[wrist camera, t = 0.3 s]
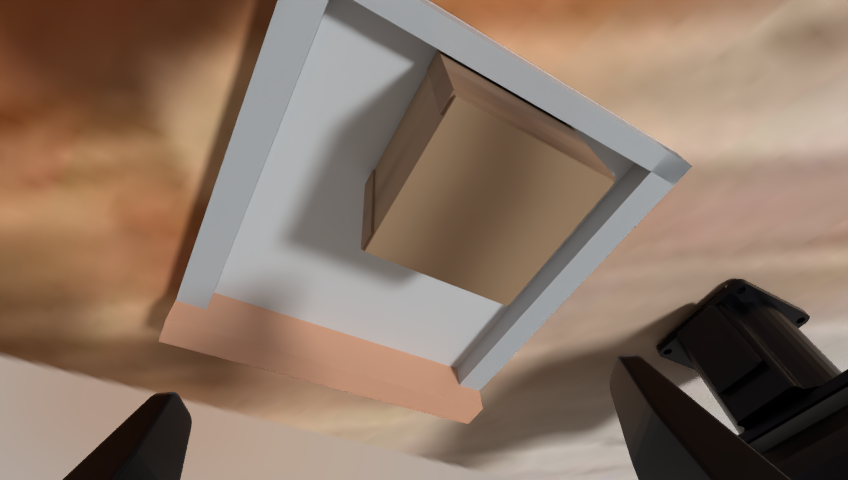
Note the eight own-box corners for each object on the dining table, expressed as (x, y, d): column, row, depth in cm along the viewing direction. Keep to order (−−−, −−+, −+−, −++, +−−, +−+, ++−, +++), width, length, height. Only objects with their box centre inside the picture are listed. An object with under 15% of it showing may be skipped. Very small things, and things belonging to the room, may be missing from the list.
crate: (568, 122, 19) (618, 181, 15) (484, 234, 22) (508, 308, 18) (437, 46, 17) (454, 91, 13) (365, 182, 20) (360, 252, 16)
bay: (670, 148, 21) (708, 179, 18) (460, 381, 30) (467, 424, 27) (309, -73, 15) (295, -69, 13) (181, 297, 24) (158, 341, 21)
